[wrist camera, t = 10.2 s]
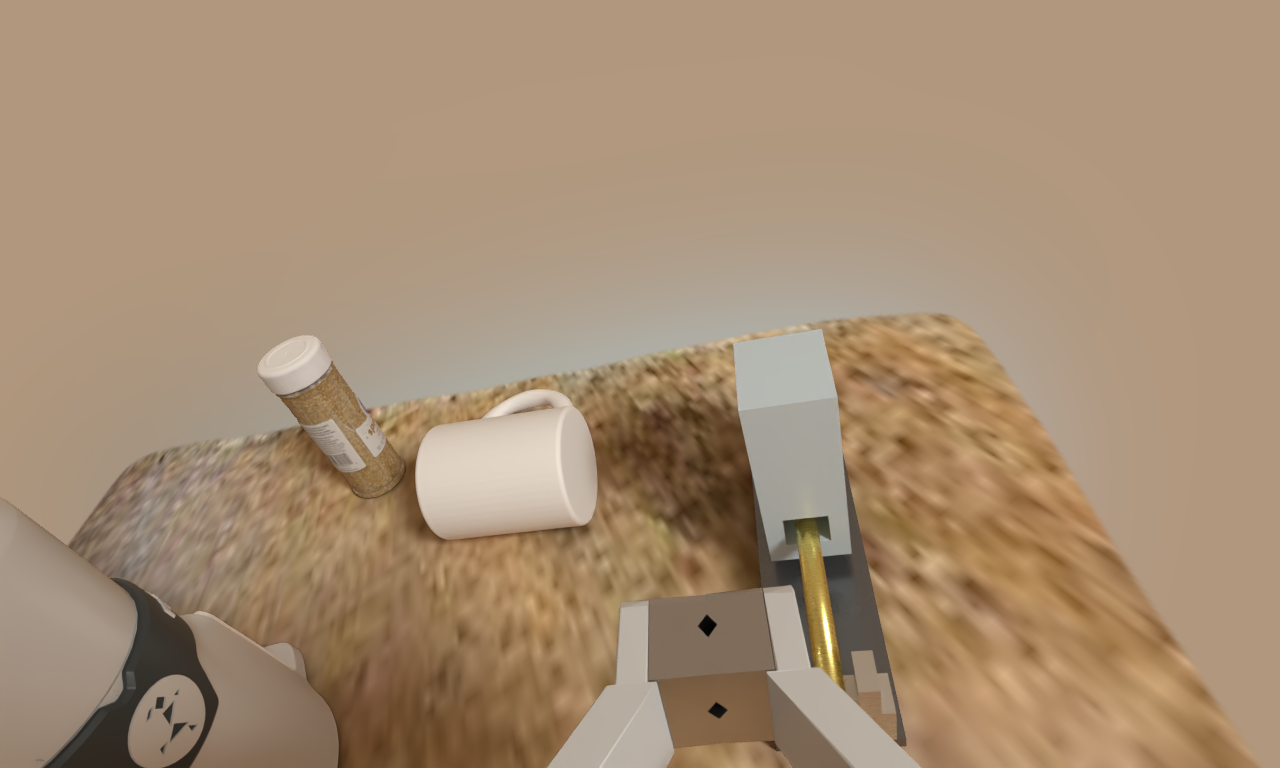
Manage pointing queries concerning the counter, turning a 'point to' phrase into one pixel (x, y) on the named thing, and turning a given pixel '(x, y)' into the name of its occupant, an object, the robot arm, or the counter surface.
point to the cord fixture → (838, 615)
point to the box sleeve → (793, 439)
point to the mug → (508, 470)
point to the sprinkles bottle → (332, 414)
